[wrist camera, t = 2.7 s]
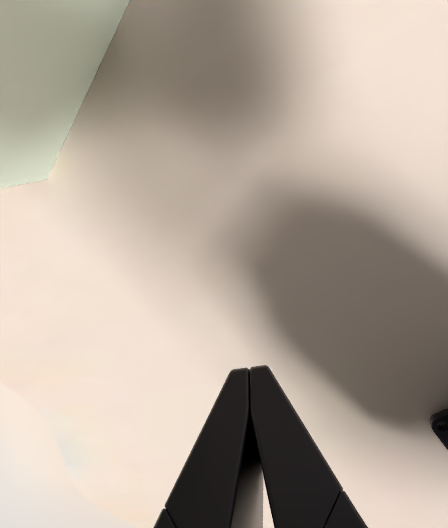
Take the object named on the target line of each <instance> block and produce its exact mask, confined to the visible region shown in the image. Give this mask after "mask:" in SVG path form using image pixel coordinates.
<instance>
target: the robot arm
mask: <svg viewBox="0 0 448 528" xmlns="http://www.w3.org/2000/svg"><path fill="white" fill-rule="evenodd" d="M441 422H444V423H446V424H445V425H443V426H440V425H438V424H439V423H441ZM430 423H431V427H432V429H433V431H434V432H435V434H436V435H437V436H438V438H439V439H440V440H441V442H442V443H443V444H444V446H445V447H446V448H447V449H448V409H445V410H443V411H441V412H438V413H436V414H434V415H432V417H431V418H430ZM263 476H264V481H265V485H266V490H267V495H268V499H269V504H270V509H271V514H272V518H273V523H274V528H368V527H367V525H366V524H365V522H364V521H363V519H362V518H361V516H360V515H359V513H358V512H357V510H356V509H355V507H354V505H353V504H352V502H351V501H350V499H349V497H348V496H347V494H346V492H345V491H343V488H342V486H341V485H340V483H339V481H338V480H337V478H336V476H335V475H334V473H333V471H332V470H331V468H330V467H329V465H328V463H327V462H326V460H325V458H324V457H323V455H322V453H321V452H320V450H319V449H318V447H317V445H316V444H315V442H314V440H313V439H312V437H311V435H310V434H309V432H308V431H307V429H306V427H305V426H304V424H303V422H302V421H301V419H300V417H299V416H298V414H297V413H296V411H295V409H294V408H293V406H292V404H291V403H290V401H289V399H288V398H287V396H286V395H285V393H284V391H283V390H282V388H281V386H280V385H279V383H278V381H277V380H276V378H275V377H274V375H273V373H272V372H271V370H270V368H269V367H268V366H266V365H263V366H256V367H251V368H250V370H249V369H248V368H241V369H233V370H232V371H230V373H229V375H228V377H227V379H226V381H225V383H224V385H223V387H222V389H221V391H220V393H219V395H218V397H217V399H216V401H215V404H214V406H213V408H212V410H211V412H210V414H209V416H208V418H207V420H206V422H205V424H204V426H203V428H202V430H201V432H200V434H199V436H198V438H197V440H196V442H195V444H194V446H193V448H192V450H191V453H190V455H189V457H188V459H187V461H186V463H185V465H184V467H183V469H182V471H181V473H180V475H179V477H178V479H177V481H176V483H175V485H174V487H173V489H172V491H171V493H170V495H169V497H168V499H167V502H166V504H165V508H166V509H165V508H164V509H162V511H161V513H160V515H159V517H158V520H157V522H156V524H155V526H154V528H263Z"/></svg>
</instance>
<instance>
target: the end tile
mask: <svg viewBox="0 0 448 528" xmlns="http://www.w3.org/2000/svg"><path fill="white" fill-rule="evenodd" d="M129 2H130V0H0V189H1V188H6V187H11V186H16V185H21V184H26V183H31V182H36V181H41V180H46V179H47V178H48V176H49V174H50V172H51V169H52V167H53V165H54V163H55V161H56V159H57V156H58V154H59V152H60V150H61V148H62V146H63V144H64V141H65V139H66V137H67V135H68V133H69V131H70V128H71V126H72V124H73V122H74V120H75V118H76V116H77V113H78V111H79V109H80V107H81V105H82V103H83V101H84V98H85V96H86V94H87V92H88V90H89V88H90V85H91V83H92V81H93V79H94V77H95V75H96V73H97V70H98V68H99V66H100V64H101V62H102V60H103V57H104V55H105V53H106V51H107V49H108V47H109V45H110V42H111V40H112V38H113V36H114V34H115V32H116V30H117V27H118V25H119V23H120V21H121V19H122V17H123V14H124V12H125V10H126V8H127V6H128V4H129Z"/></svg>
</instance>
